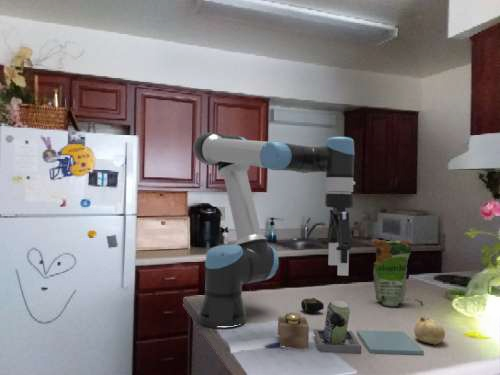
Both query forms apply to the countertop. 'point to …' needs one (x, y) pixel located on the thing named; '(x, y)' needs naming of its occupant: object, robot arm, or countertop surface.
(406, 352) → the light blue square tile
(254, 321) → the countertop surface
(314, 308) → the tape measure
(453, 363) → the countertop surface
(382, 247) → the pouch
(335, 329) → the beverage can
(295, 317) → the plunger
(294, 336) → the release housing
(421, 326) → the onion
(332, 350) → the socket collar
